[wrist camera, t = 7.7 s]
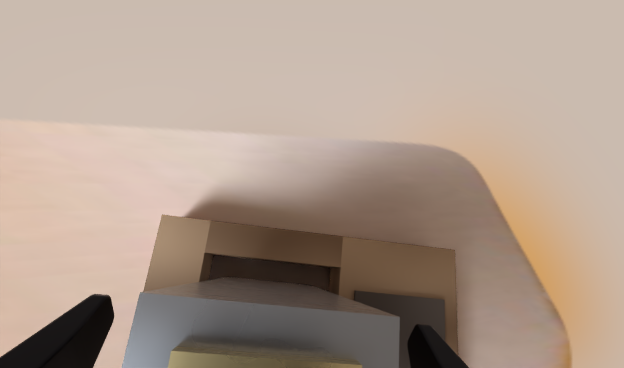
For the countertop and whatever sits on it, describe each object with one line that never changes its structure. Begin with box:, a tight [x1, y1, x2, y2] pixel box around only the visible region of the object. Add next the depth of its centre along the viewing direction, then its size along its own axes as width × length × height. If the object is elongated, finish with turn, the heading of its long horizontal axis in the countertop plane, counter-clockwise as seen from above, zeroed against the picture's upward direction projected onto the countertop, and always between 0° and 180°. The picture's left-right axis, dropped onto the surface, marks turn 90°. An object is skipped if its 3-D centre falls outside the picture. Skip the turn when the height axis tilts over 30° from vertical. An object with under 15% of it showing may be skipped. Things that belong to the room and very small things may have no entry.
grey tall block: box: [122, 277, 400, 368], centre depth 10 cm, size 4×4×12 cm
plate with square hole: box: [143, 215, 458, 368], centre depth 15 cm, size 10×15×3 cm, turn 84°
